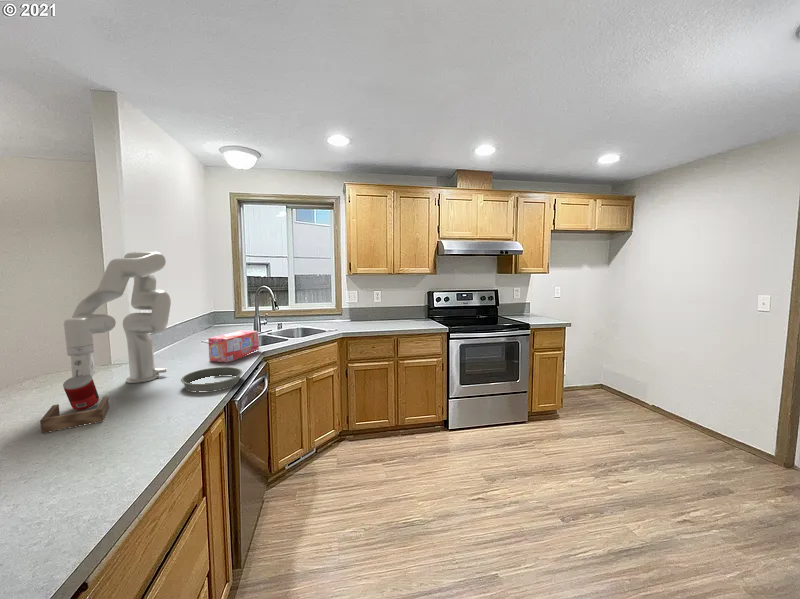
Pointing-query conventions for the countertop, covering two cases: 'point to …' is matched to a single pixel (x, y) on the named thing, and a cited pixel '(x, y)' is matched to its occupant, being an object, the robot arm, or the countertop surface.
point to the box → (232, 345)
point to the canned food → (81, 392)
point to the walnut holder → (73, 417)
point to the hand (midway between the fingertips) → (85, 395)
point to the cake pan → (208, 373)
